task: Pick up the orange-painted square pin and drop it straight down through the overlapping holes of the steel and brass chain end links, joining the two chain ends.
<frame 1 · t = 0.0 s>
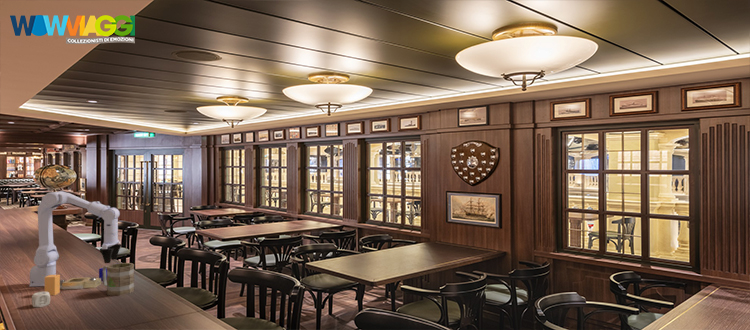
hand: (110, 261, 212), 10 cm above the table, tool pointing down, fingers open, 7 cm apart
die: (41, 306, 178), on the table
mug: (116, 292, 197), on the table
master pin: (52, 294, 193), on the table
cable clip: (109, 278, 220), on the table
chain ends: (77, 286, 204), on the table
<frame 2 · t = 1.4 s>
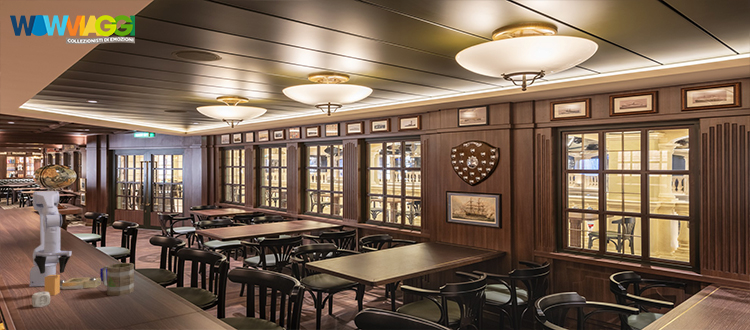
hand: (52, 272, 193), 9 cm above the table, tool pointing down, fingers open, 7 cm apart
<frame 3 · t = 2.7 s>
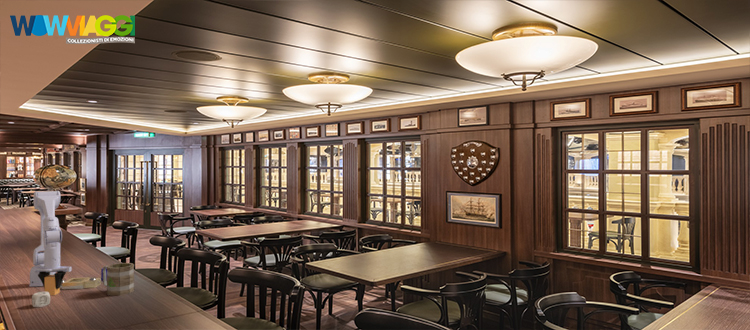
hand: (52, 288, 193), 2 cm above the table, tool pointing down, fingers closed on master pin, 4 cm apart
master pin: (52, 294, 193), on the table, touching gripper
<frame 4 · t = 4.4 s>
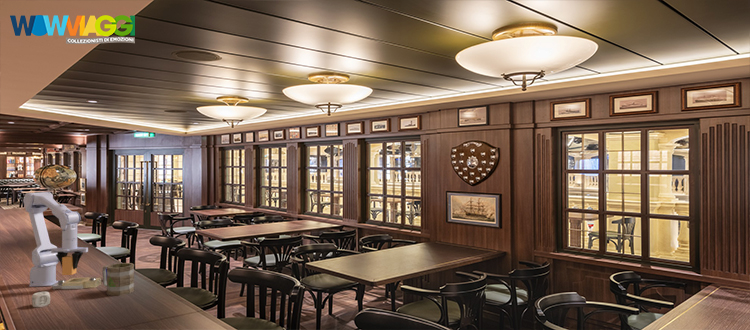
hand: (69, 268, 201), 9 cm above the table, tool pointing down, fingers closed on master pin, 4 cm apart
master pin: (69, 273, 200), point 7 cm above the table, touching gripper
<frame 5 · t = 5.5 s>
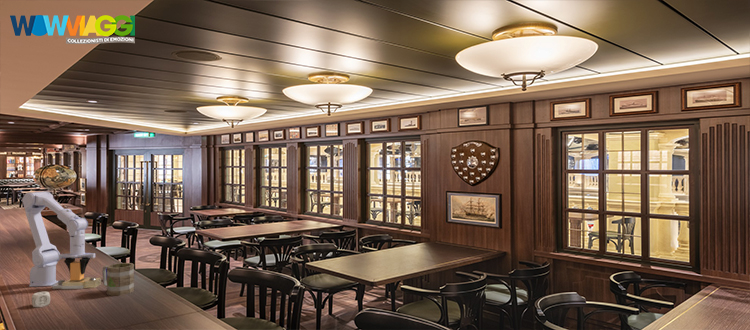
hand: (77, 273, 204), 6 cm above the table, tool pointing down, fingers closed on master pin, 4 cm apart
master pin: (77, 279, 204), point 3 cm above the table, touching gripper
when the fingers open (4 cm above the table, at t = 6.4 s): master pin drops 1 cm, resting in chain ends.
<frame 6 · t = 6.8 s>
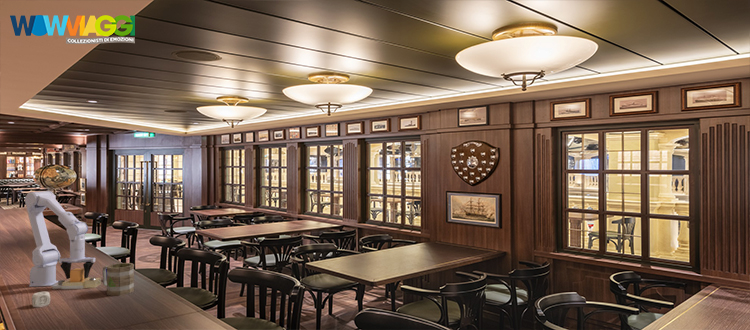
hand: (77, 278, 204), 4 cm above the table, tool pointing down, fingers open, 7 cm apart
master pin: (77, 286, 204), resting in chain ends
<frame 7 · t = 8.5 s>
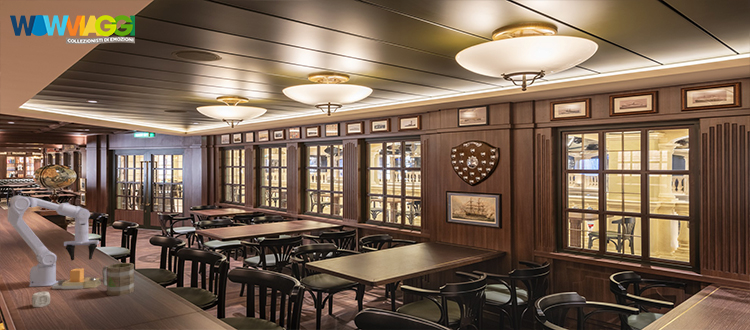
hand: (81, 259, 218), 9 cm above the table, tool pointing down, fingers open, 7 cm apart
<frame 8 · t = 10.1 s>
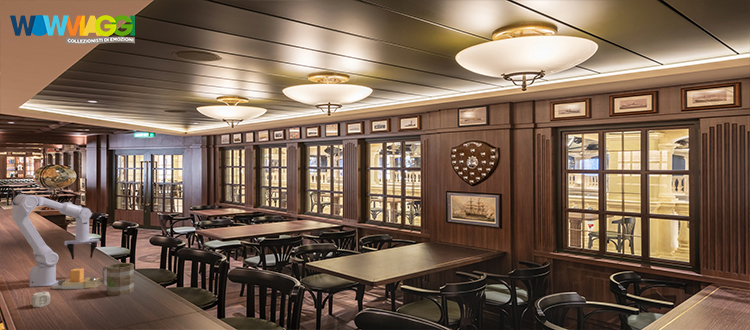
hand: (82, 258, 221), 9 cm above the table, tool pointing down, fingers open, 7 cm apart
at the end: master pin 0.2 cm off-centre on the chain ends, point 0.0 cm above the chain ends's base; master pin tilted 0°; the gripper is holding nothing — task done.
